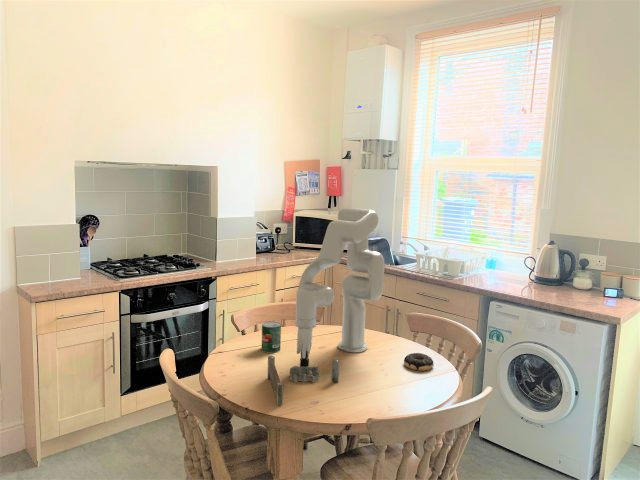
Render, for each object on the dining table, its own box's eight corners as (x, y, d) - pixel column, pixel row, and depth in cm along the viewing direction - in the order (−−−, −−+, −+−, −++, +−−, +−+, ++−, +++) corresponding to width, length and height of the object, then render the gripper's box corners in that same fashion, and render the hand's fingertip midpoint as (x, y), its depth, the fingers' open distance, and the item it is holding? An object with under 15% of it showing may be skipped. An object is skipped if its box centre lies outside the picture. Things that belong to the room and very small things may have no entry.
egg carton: (289, 382, 181) (289, 371, 180) (289, 374, 188) (290, 363, 188) (319, 383, 181) (319, 372, 181) (318, 374, 189) (319, 364, 188)
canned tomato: (257, 351, 210) (258, 325, 208) (267, 345, 217) (267, 320, 216) (275, 354, 207) (275, 328, 205) (283, 348, 214) (284, 322, 213)
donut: (398, 366, 199) (399, 357, 198) (413, 358, 208) (413, 349, 208) (424, 374, 192) (425, 364, 192) (438, 365, 202) (439, 356, 201)
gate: (273, 379, 182) (274, 360, 181) (282, 404, 163) (282, 384, 162) (269, 379, 182) (269, 361, 181) (277, 405, 162) (277, 384, 161)
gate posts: (268, 377, 185) (268, 355, 183) (338, 380, 184) (339, 359, 182) (267, 379, 182) (267, 358, 181) (338, 383, 181) (339, 361, 180)
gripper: (297, 315, 195) (296, 361, 198) (293, 327, 180) (292, 376, 183) (317, 316, 195) (315, 362, 197) (314, 328, 180) (313, 378, 183)
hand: (304, 369), depth 190 cm, fingers closed
